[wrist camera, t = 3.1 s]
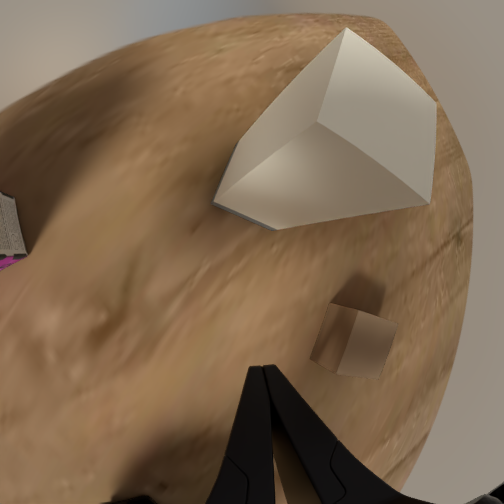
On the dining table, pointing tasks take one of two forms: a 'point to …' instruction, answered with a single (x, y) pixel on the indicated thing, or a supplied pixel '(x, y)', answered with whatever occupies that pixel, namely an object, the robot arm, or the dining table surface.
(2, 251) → the candy bar box
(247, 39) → the dining table surface
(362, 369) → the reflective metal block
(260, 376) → the robot arm
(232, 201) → the cream block
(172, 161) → the dining table surface
